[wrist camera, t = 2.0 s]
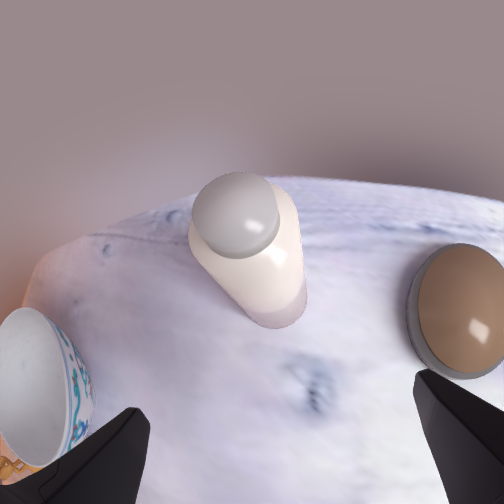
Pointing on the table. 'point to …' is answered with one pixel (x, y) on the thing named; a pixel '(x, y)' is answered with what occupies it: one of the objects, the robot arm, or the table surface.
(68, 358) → the chinaware
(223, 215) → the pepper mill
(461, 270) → the display plinth
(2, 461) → the figurine
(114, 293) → the table surface
